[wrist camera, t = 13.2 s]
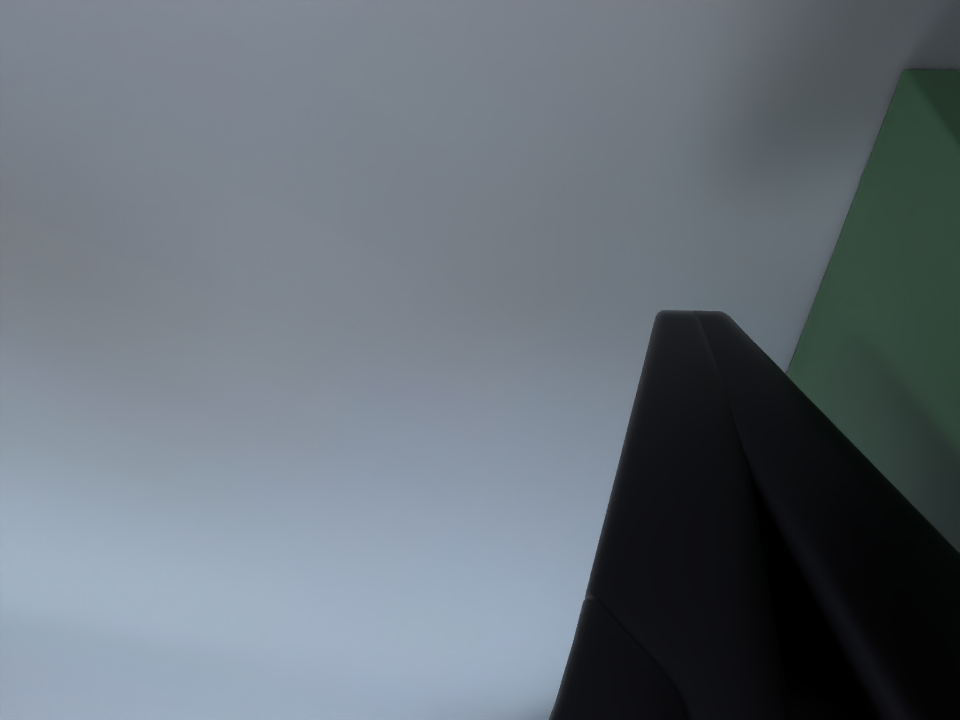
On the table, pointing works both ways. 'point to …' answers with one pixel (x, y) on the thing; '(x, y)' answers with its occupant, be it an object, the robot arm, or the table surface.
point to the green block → (898, 305)
